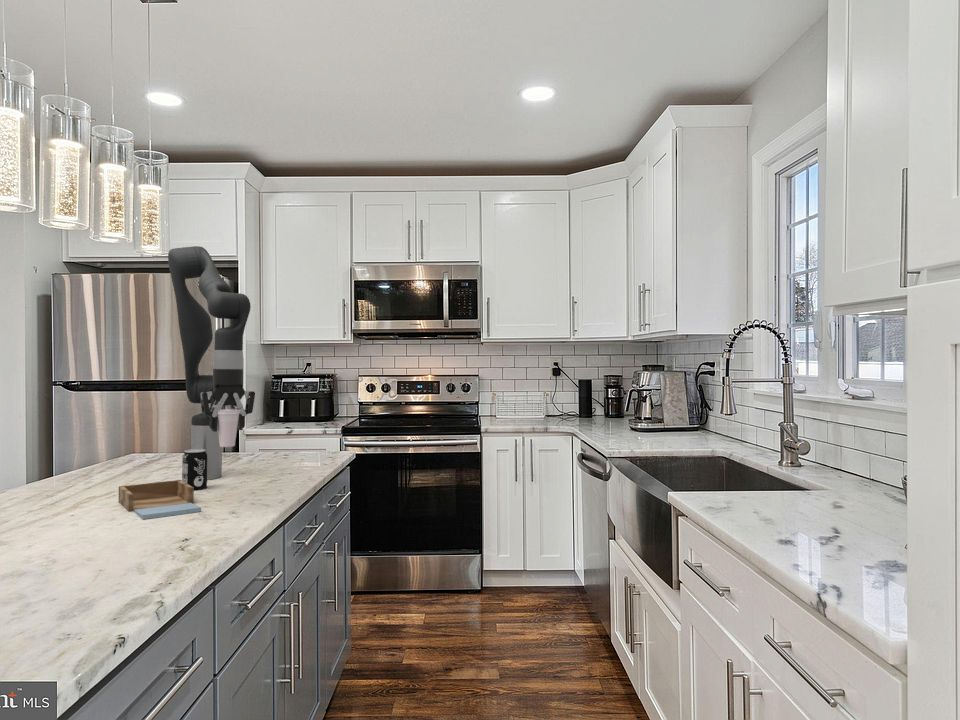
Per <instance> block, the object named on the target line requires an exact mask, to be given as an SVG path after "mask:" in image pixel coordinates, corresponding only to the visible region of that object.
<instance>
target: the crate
mask: <svg viewBox="0 0 960 720" xmlns="http://www.w3.org/2000/svg"><path fill="white" fill-rule="evenodd" d="M194 492H195V491H194V487H192V486H190V485H188V484H187V483H185V482H183V481H182V479H175V480H167V481H166V480H165V481H157V482H155V481H154V482H149V483H148V482H147V483H137V484H127V485H126V484H125V485H120V486H118V503H119V504H120V505H121V506H122V507H123V508H124V509H125V510H126V511H127V512H129V513H130V512H131V513H132V512H134V509H141V508H149V507H157V506H165V505H173V504H181V503H189V502H191V503H192V504H195V503H194V502H195V501H194V498H195V497H194V495H195V494H194Z"/></svg>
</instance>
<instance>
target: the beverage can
mask: <svg viewBox="0 0 960 720" xmlns="http://www.w3.org/2000/svg"><path fill="white" fill-rule="evenodd" d="M183 452H184V453H183V455H182V461H181V462H182V463H181V464H182V468H181V469H182V471H181V475H182V476H181V477H182V478H181V481H183V482H185V483H187V484H188V485H190V486H192V487H194V492H195V491H196V492H197V491H202V490H206V489H208V479H207V454H206V450H205V449H191V448H190V449H185V450H184V451H183Z"/></svg>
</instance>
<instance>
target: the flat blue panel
mask: <svg viewBox="0 0 960 720" xmlns="http://www.w3.org/2000/svg"><path fill="white" fill-rule="evenodd" d="M133 512H134V513H135V514H136V516H138V517H139V518H140V519H141V520H149V519H150V520H151V519H156V518H157V519H158V518H163V517H170V516H179V515H186V514H193V513H201V512H202V506H201V507H200V506H199V505H197V504H195V503H194V504H192V503H191V502H189V503H181V504H173V505H165V506H157V507H149V508H141V509H134V511H133Z"/></svg>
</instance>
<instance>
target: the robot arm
mask: <svg viewBox="0 0 960 720" xmlns="http://www.w3.org/2000/svg"><path fill="white" fill-rule="evenodd" d="M167 260H168V261H167V262H168V269H169V273H170V277H171V283H172V286H173V291H174V296H175V301H176V302H175V303H176V312H177V319H178V320H177V321H178V328H179V335H180V336H179V337H180V341H181V346H182V353H183V360H184V370H185V371H184V374H185V390H186V396H187V399H188V400H189V401H188V402H190V403H191V404H192V403H193V404H200V407H201V413H198V414H194V415H193V416H192V417H191V427H190V428H191V429H190V432H191V433H190V434H191V443H190V444H191V445H190V447H191V448H190V449H205V450H206V454H207V480H214V479H219V478H221V477H222V473H223V471H222V470H223V467H222V466H223V465H222V464H223V447H220V444H219V436H218V427H217V417H216V416H217V414H218V410H220V409H224V407H225V406H227V407H228V406H231V407H232V406H233V408H234V409H238V410H240V413H239V419H238V426H237V431H243V430H244V428H246V427H245V426H246V425H245V424H246V416H247V415H249V414H252V413H254V412H253V409H254V405H255V397H256V391H253V390H245V388H244V361H245V359H244V351H243V349H244V334H245V333H244V332H245V328H246V326H247V322H248V319H249V315H250V312H251V302H250V299H249V296H248V295H246V294H244V293H238V292H237V293H236V292H233V290H232V288H231V286H230V285H229V284H228V283H227V282H226V281H225V279H224V278H223V277H222V275H221V274H220V272H219V270H218V269H217V267H216V265H215V262H214V260H213V258H212V257H211V255H210V253H209V252H208V251H207V249H206V248H205V247H203V246H198V245H197V246H196V245H195V246H194V245H193V246H186V247H185V246H183V247H175V248H171V249H170V250H169V251H168V254H167ZM197 278H199V279H198V282H197V283H198V284H197V285H198V290H199V292H200V294H201V295H202V296H203V298H204V299H205V300H206V304H207V310H208V311H207V310H206V309H205V308H204V307H203V306H202V305H201V304H200V303H199V302H198V301H197V300H196V299H195V298H194V296H193V295H192V293H191V292H190V291H189V288H188V286H187V283H186V280H188V279H197ZM211 317H213V318H215V319H220V320H221V319H222V320H223V319H224V320H225V319H227V320H232V323H231V324H230V326H227V327H225V326H224V327H221V328H220V327H219V328H217V329H216V330H215V331H214V334H213V325H212V318H211ZM213 337H214V339H213ZM213 340H214V346H213V347H214V351H213V358H212V359H213V360H212V374H200V373H199V367H200V363H201V360H202V359H203V357H204V356H205V353H206V352H207V351H208V349H209V347H210V346H211V344H212V341H213ZM243 397H244V398H245V399H246V401H245V407H244V405H243V403H242V401H241V400H242V398H243ZM209 404H210V405H209Z"/></svg>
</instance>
